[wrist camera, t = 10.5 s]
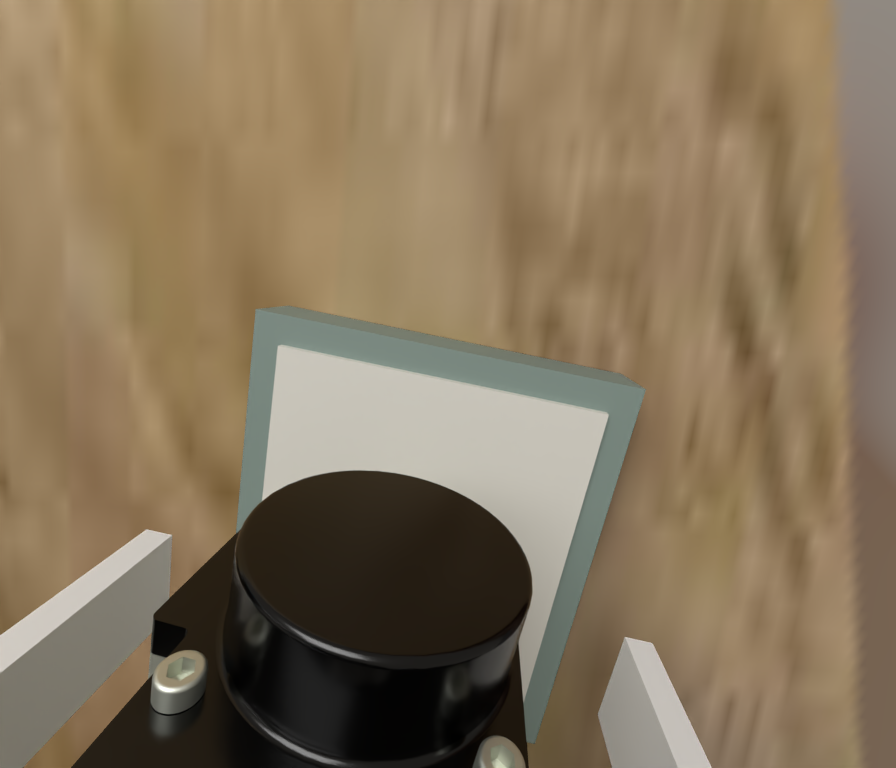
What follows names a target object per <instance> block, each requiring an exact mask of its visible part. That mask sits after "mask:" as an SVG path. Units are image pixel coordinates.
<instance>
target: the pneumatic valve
mask: <svg viewBox="0 0 896 768" xmlns="http://www.w3.org/2000/svg"><path fill="white" fill-rule="evenodd" d="M532 593H533V587H532V574H531V570H530V565H529V563H528V560H527V557H526V555H525V553H524V551H523V549H522V547H521V546H520V544H519V543H518V541H517V540H516V538H515V537H514V535H513V534H512V533H511V532H510V531H509V529H508V528H507V527H506V526H505V525H504V524H503V523H502V522H501V521H500V520H499V519H498V518H496V517H495V516H494V515H493V514H492V513H490V512H489V511H488V510H486V509H485V508H484V507H482V506H481V505H479V504H478V503H476V502H474V501H473V500H471V499H469V498H468V497H466V496H464V495H462V494H460V493H458V492H456V491H454V490H452V489H449V488H447V487H444V486H442V485H439V484H437V483H434V482H431V481H428V480H424V479H421V478H417V477H413V476H408V475H404V474H398V473H391V472H383V471H367V470H349V471H337V472H329V473H324V474H319V475H314V476H310V477H307V478H304V479H301V480H298V481H296V482H293V483H291V484H288V485H286V486H284V487H282V488H281V489H279V490H277V491H275V492H273V493H272V494H270V495H269V496H268V497H267V498H265V499H264V500H263V501H262V502H260V503H259V504H258V505H257V506H256V507H255V508H254V509H253V510H252V511H251V513H250V514H249V516H248V517H247V518H246V520H245V521H244V523H243V526H242V528H241V529H240V530H239V531H238V532H237V533H236V534H235V535H234V536H233V537H232V538H231V539H230V540H229V541H228V542H227V543H226V544H225V545H224V546H223V547H222V548H221V549H220V550H219V551H218V552H217V553H216V554H215V555H214V556H213V557H212V558H211V559H210V560H208V561H207V562H206V563H205V564H204V565H203V566H202V567H201V568H200V569H199V570H198V571H197V572H196V573H195V574H194V575H193V576H192V577H191V578H190V579H189V580H188V581H187V582H186V583H185V584H184V585H183V586H182V587H181V588H180V589H179V590H178V591H177V592H176V593H174V594H173V595H172V596H171V597H170V598H169V599H168V600H167V601H166V602H165V603H164V604H163V605H162V606H161V607H160V608H159V609H158V610H157V611H156V612H155V613H154V615H153V625H152V638H151V651H150V663H149V676H148V680H147V681H146V682H145V683H144V685H143V686H142V687H141V688H140V689H139V690H138V691H137V693H136V694H135V695H134V696H133V697H132V698H131V699H130V701H129V702H128V703H127V704H126V705H125V706H124V708H123V709H122V710H121V711H120V712H119V713H118V714H117V716H116V717H115V718H114V719H113V720H112V721H111V722H110V724H109V725H108V726H107V727H106V728H105V729H104V730H103V732H102V733H101V734H100V735H99V736H98V737H97V738H96V740H95V741H94V742H93V743H92V744H91V745H90V747H89V748H88V749H87V750H86V751H85V752H84V753H83V755H82V756H81V757H80V758H79V759H78V760H77V761H76V763H75V764H74V765H73V766H72V767H71V768H529V766H528V753H527V741H526V728H525V716H524V704H523V691H522V679H521V667H520V654H519V639H520V635H521V632H522V629H523V626H524V623H525V620H526V617H527V614H528V611H529V608H530V604H531V599H532Z"/></svg>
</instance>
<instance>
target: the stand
mask: <svg viewBox="0 0 896 768" xmlns="http://www.w3.org/2000/svg"><path fill="white" fill-rule="evenodd" d="M645 390H646V389H644V388H643V387H641V386H640V385H638V384H636V383H635V382H633V381H632V380H630V379H629V378H627V377H625V376H624V375H622V374H619V373H614V372H609V371H604V370H599V369H595V368H590V367H585V366H580V365H575V364H570V363H565V362H560V361H556V360H551V359H546V358H541V357H536V356H531V355H526V354H521V353H517V352H512V351H507V350H502V349H497V348H492V347H487V346H482V345H478V344H473V343H468V342H463V341H458V340H453V339H448V338H443V337H439V336H434V335H429V334H424V333H419V332H414V331H409V330H404V329H400V328H395V327H390V326H385V325H380V324H375V323H370V322H365V321H361V320H356V319H351V318H346V317H341V316H336V315H331V314H326V313H322V312H317V311H312V310H307V309H302V308H297V307H292V306H282V307H272V308H262V309H256V313H255V324H254V336H253V347H252V358H251V370H250V381H249V392H248V404H247V415H246V426H245V438H244V449H243V460H242V472H241V483H240V495H239V506H238V517H237V529H236V533H237V532H238V531H239V530H240V529H241V528H242V526H243V523H244V521H245V520H246V518H247V517H248V516H249V514H250V513H251V511H252V510H253V509H254V508H255V507H256V506H257V505H258V504H259V503H260V502H262V501H263V500H264V499H265V498H267V497H268V496H269V495H270V494H272V493H273V492H275V491H277V490H279V489H281V488H282V487H284V486H286V485H288V484H291V483H293V482H296V481H298V480H301V479H304V478H307V477H310V476H314V475H319V474H324V473H329V472H337V471H349V470H367V471H383V472H391V473H398V474H404V475H408V476H413V477H417V478H421V479H424V480H428V481H431V482H434V483H437V484H439V485H442V486H444V487H447V488H449V489H452V490H454V491H456V492H458V493H460V494H462V495H464V496H466V497H468V498H469V499H471V500H473V501H474V502H476V503H478V504H479V505H481V506H482V507H484V508H485V509H486V510H488V511H489V512H490V513H492V514H493V515H494V516H495V517H496V518H498V519H499V520H500V521H501V522H502V523H503V524H504V525H505V526H506V527H507V528H508V529H509V531H510V532H511V533H512V534H513V535H514V537H515V538H516V540H517V541H518V543H519V544H520V546H521V547H522V549H523V551H524V553H525V555H526V557H527V560H528V563H529V565H530V570H531V574H532V587H533V593H532V599H531V604H530V608H529V611H528V614H527V617H526V620H525V623H524V626H523V629H522V632H521V635H520V639H519V654H520V667H521V679H522V691H523V704H524V716H525V728H526V741H527V742H529V743H533V744H535V741H536V738H537V735H538V732H539V729H540V725H541V722H542V719H543V716H544V713H545V709H546V706H547V703H548V700H549V697H550V693H551V690H552V687H553V684H554V681H555V678H556V674H557V671H558V668H559V665H560V662H561V658H562V655H563V652H564V649H565V646H566V642H567V639H568V636H569V633H570V630H571V626H572V623H573V620H574V617H575V614H576V610H577V607H578V604H579V601H580V598H581V595H582V591H583V588H584V585H585V582H586V579H587V575H588V572H589V569H590V566H591V563H592V559H593V556H594V553H595V550H596V547H597V543H598V540H599V537H600V534H601V531H602V528H603V524H604V521H605V518H606V515H607V512H608V508H609V505H610V502H611V499H612V496H613V492H614V489H615V486H616V483H617V480H618V476H619V473H620V470H621V467H622V464H623V460H624V457H625V454H626V451H627V448H628V445H629V441H630V438H631V435H632V432H633V429H634V425H635V422H636V419H637V416H638V413H639V409H640V406H641V403H642V400H643V397H644V393H645Z"/></svg>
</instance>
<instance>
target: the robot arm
mask: <svg viewBox="0 0 896 768" xmlns="http://www.w3.org/2000/svg"><path fill="white" fill-rule="evenodd" d="M171 549H172V535H169V534H165V533H160V532H156V531H152V530H147V529H146V530H145V531H144V532H142V533H141V534H139V535H138V536H137V537H135V538H134V539H133V540H131V541H130V542H128V543H127V544H126V545H124V546H123V547H122V548H120V549H119V550H117V551H116V552H115V553H113V554H112V555H111V556H109V557H108V558H106V559H105V560H104V561H102V562H101V563H99V564H98V565H97V566H95V567H94V568H93V569H91V570H90V571H88V572H87V573H86V574H84V575H83V576H82V577H80V578H79V579H77V580H76V581H75V582H73V583H72V584H70V585H69V586H68V587H66V588H65V589H64V590H62V591H61V592H59V593H58V594H57V595H55V596H54V597H53V598H51V599H50V600H48V601H47V602H46V603H44V604H43V605H41V606H40V607H39V608H37V609H36V610H35V611H33V612H32V613H30V614H29V615H28V616H26V617H25V618H24V619H22V620H21V621H19V622H18V623H17V624H15V625H14V626H12V627H11V628H10V629H8V630H7V631H6V632H4V633H3V634H1V635H0V768H23V767H24V766H25V765H26V763H27V762H28V761H29V760H30V759H31V758H32V757H33V756H34V755H35V754H36V753H37V752H38V751H39V750H40V749H41V748H42V747H43V746H44V745H45V744H46V743H47V741H48V740H49V739H50V738H51V737H52V736H53V735H54V734H55V733H56V732H57V731H58V730H59V729H60V728H61V727H62V726H63V725H64V724H65V723H66V722H67V721H68V719H69V718H70V717H71V716H72V715H73V714H74V713H75V712H76V711H77V710H78V709H79V708H80V707H81V706H82V705H83V704H84V703H85V702H86V701H87V700H88V699H89V698H90V696H91V695H92V694H93V693H94V692H95V691H96V690H97V689H98V688H99V687H100V686H101V685H102V684H103V683H104V682H105V681H106V680H107V679H108V678H109V677H110V676H111V674H112V673H113V672H114V671H115V670H116V669H117V668H118V667H119V666H120V665H121V664H122V663H123V662H124V661H125V660H126V659H127V658H128V657H129V656H130V655H131V654H132V652H133V651H134V650H135V649H136V648H137V647H138V646H139V645H140V644H141V643H142V642H143V641H144V640H145V639H146V638H147V637H148V636H149V635H150V634H151V633H152V625H153V615H154V613H155V612H156V611H157V610H158V609H159V608H160V607H161V606H162V605H163V604H164V603H165V602H166V601H167V600H168V599H169V590H170V569H171ZM598 717H599V721H600V724H601V728H602V732H603V736H604V739H605V743H606V747H607V750H608V754H609V758H610V762H611V765H612V768H712V767H711V765H710V763H709V761H708V759H707V757H706V755H705V753H704V750H703V748H702V746H701V744H700V742H699V740H698V738H697V736H696V734H695V732H694V729H693V727H692V725H691V723H690V721H689V719H688V717H687V715H686V713H685V710H684V708H683V706H682V704H681V702H680V700H679V698H678V696H677V694H676V692H675V689H674V687H673V685H672V683H671V681H670V679H669V677H668V675H667V673H666V671H665V668H664V666H663V664H662V662H661V660H660V658H659V656H658V654H657V652H656V649H655V647H654V645H653V643H650V642H645V641H641V640H636V639H632V638H627V637H625V638H624V641H623V644H622V647H621V650H620V652H619V655H618V658H617V661H616V664H615V667H614V670H613V672H612V675H611V678H610V681H609V684H608V687H607V689H606V692H605V695H604V698H603V701H602V704H601V707H600V709H599V712H598Z"/></svg>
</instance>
